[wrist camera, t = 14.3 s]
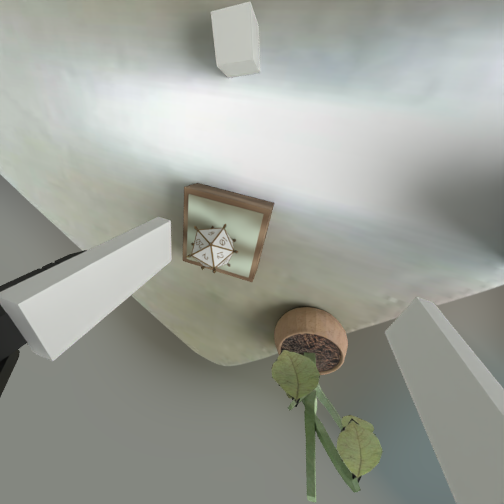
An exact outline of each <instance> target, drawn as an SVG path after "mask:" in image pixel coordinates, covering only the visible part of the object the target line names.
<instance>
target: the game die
mask: <svg viewBox="0 0 504 504" xmlns="http://www.w3.org/2000/svg"><path fill="white" fill-rule="evenodd" d="M225 228H226V224H224V226H223V228H214V227H213V226H212V227H211V228H210V229H198V228H197V227H196V226H194V229H195V230H197V233H196V237H195V241H194V243H193V242H192V243H191V245H193V249H192V253H191V255H190V254H189V255H187V257H188V258H190V257H191V256H192V257H193V258H195V259H196V260H197V261H198V262H199V263H200V264H202V265H203V266H202V267H201V268H202V270H203V269H204V268H205V267H209V268H213V272H214V273H215V272H216V269H215V268H218V267H221V266H223V265H226V264H227V266H228V267H230V264H229V261H230V259H231V257H232V255H233V253H236V254H237V253H238V251H237V250H234V245H233V242H236V239H233V240H232V239H231V237H230V236H229V234H228V233H227V231H226V230H225Z"/></svg>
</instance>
